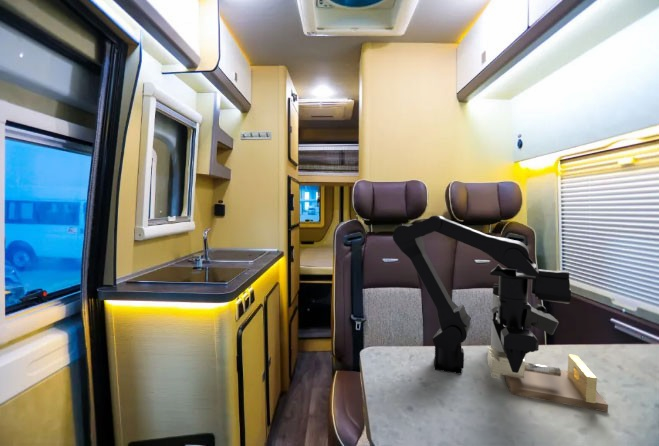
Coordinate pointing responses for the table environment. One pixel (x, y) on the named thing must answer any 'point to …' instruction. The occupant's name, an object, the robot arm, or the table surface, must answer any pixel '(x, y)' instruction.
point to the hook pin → (501, 366)
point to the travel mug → (494, 336)
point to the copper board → (552, 389)
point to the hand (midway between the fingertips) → (510, 361)
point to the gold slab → (582, 378)
